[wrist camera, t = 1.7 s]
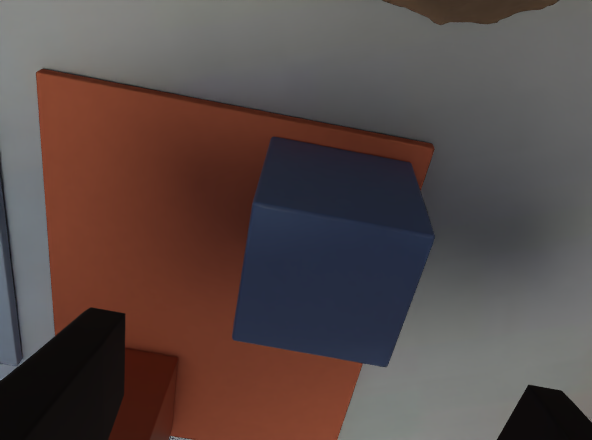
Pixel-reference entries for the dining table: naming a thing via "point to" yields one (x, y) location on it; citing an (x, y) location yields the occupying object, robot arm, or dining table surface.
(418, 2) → the food dish
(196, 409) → the rust mat
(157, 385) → the rust block
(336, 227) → the blue block
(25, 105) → the dining table surface
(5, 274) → the blue mat
